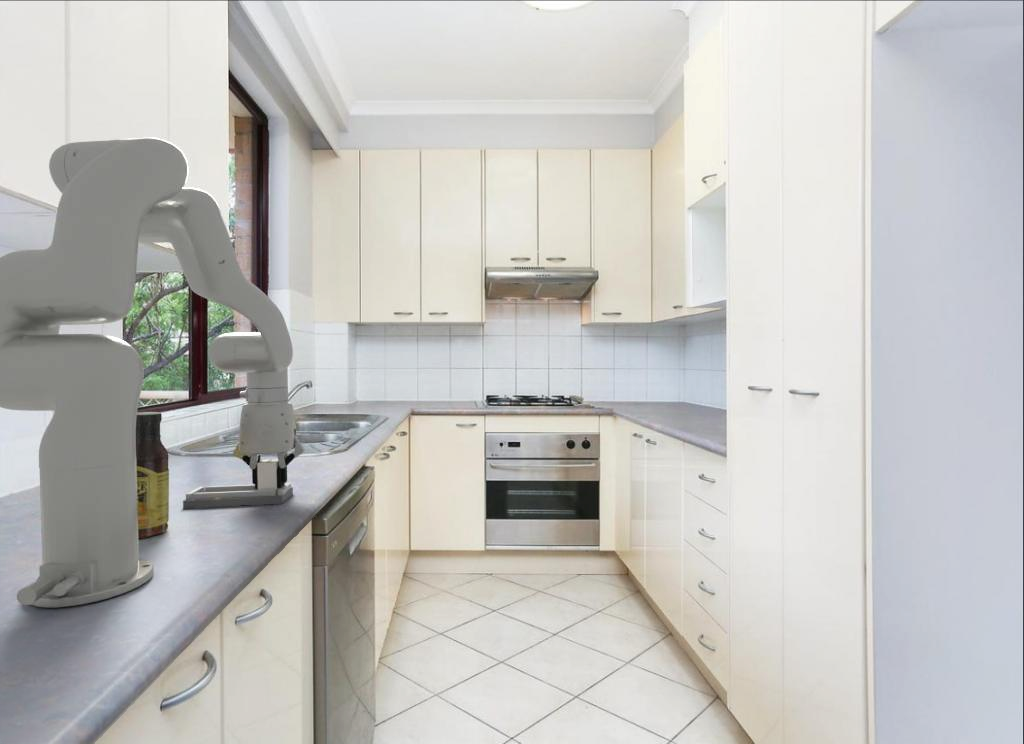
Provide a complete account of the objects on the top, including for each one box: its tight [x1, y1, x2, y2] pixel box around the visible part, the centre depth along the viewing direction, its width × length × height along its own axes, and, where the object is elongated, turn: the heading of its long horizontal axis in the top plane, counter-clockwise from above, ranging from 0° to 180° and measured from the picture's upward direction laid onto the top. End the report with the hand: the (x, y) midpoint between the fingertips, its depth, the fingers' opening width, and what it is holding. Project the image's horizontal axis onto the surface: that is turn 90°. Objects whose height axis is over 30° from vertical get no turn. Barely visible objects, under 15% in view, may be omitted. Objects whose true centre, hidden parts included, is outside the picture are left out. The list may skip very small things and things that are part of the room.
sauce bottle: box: [136, 411, 170, 539], centre depth 87 cm, size 6×6×20 cm
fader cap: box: [257, 458, 280, 492], centre depth 108 cm, size 4×4×6 cm
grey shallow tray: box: [182, 482, 294, 509], centre depth 108 cm, size 8×18×2 cm, turn 98°
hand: (270, 486), depth 109 cm, fingers closed on fader cap, 3 cm apart
